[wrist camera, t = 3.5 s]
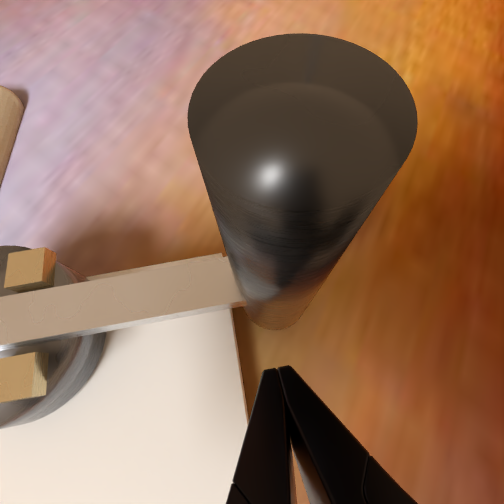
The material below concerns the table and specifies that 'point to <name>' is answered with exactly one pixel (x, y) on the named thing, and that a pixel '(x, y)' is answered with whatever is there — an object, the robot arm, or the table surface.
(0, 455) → the cap plate
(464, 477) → the table surface
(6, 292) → the dark cylinder with bar
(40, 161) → the table surface
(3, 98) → the wooden puzzle
